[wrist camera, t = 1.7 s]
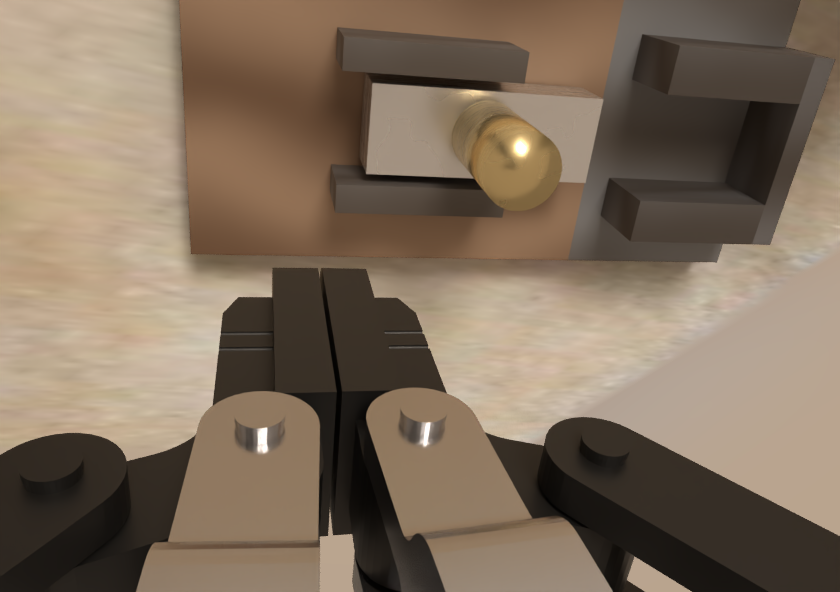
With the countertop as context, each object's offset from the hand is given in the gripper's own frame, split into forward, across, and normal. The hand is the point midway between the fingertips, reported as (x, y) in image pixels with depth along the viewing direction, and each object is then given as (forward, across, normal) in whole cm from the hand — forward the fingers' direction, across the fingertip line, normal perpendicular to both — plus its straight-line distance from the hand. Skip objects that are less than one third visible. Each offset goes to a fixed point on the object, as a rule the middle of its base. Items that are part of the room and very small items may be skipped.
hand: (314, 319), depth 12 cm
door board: (+16, -8, 0) cm, 18 cm away
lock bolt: (+15, -7, 0) cm, 16 cm away
